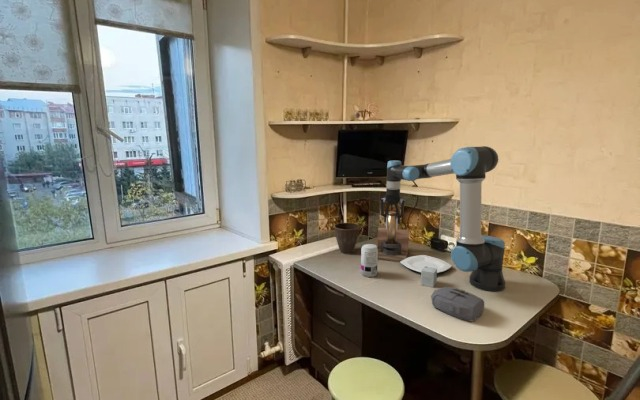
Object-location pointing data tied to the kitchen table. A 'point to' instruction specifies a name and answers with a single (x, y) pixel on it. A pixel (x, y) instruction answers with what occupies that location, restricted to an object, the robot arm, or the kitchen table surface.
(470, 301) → the soft grey pack
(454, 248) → the robot arm
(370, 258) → the supplement can
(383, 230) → the transparent box
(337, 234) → the plant pot
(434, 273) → the skincare box
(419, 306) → the kitchen table surface
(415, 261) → the plate
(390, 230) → the clear glass cylinder
